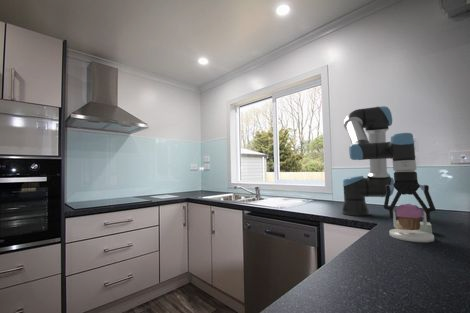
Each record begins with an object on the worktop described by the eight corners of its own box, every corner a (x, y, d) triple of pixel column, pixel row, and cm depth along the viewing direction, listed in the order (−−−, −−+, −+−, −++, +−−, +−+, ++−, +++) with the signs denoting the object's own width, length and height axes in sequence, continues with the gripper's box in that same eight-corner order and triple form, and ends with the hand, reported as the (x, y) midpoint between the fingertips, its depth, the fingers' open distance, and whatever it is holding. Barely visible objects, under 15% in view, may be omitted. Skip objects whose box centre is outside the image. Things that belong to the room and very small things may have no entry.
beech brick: (395, 229, 102) (394, 220, 102) (406, 229, 100) (405, 220, 100) (396, 232, 97) (396, 222, 97) (408, 233, 95) (407, 223, 95)
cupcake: (430, 230, 86) (427, 204, 87) (414, 233, 83) (411, 206, 84) (406, 225, 94) (404, 201, 95) (390, 227, 92) (388, 203, 93)
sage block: (418, 230, 98) (418, 221, 98) (431, 232, 95) (430, 222, 95) (419, 234, 93) (418, 224, 93) (432, 235, 90) (431, 225, 91)
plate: (388, 231, 98) (388, 227, 98) (430, 234, 91) (429, 230, 91) (390, 239, 86) (390, 235, 86) (438, 244, 79) (438, 239, 79)
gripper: (373, 172, 93) (377, 227, 91) (442, 170, 82) (449, 233, 80) (373, 172, 100) (377, 223, 98) (437, 170, 88) (443, 228, 86)
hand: (410, 228), depth 89 cm, fingers closed on cupcake, 9 cm apart
